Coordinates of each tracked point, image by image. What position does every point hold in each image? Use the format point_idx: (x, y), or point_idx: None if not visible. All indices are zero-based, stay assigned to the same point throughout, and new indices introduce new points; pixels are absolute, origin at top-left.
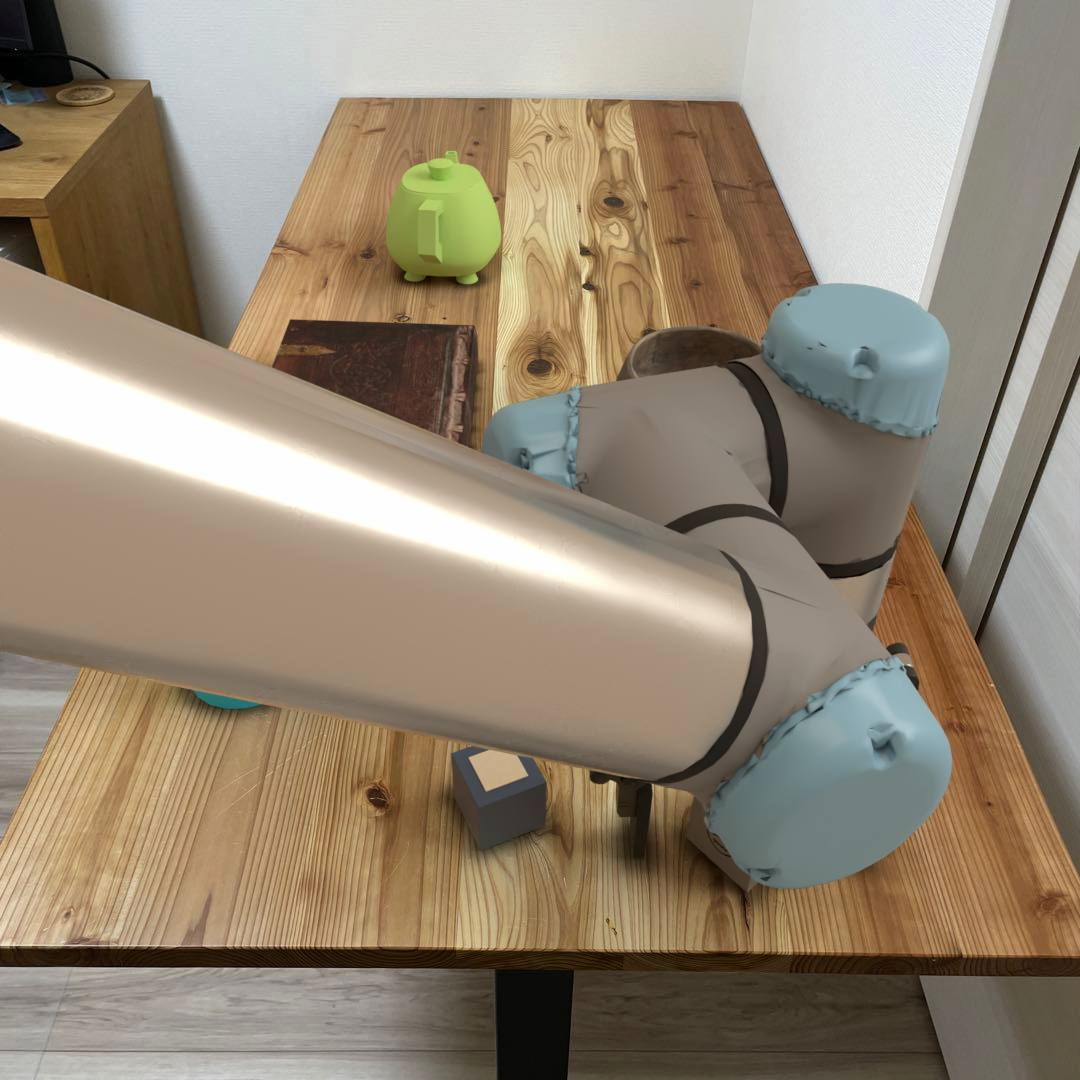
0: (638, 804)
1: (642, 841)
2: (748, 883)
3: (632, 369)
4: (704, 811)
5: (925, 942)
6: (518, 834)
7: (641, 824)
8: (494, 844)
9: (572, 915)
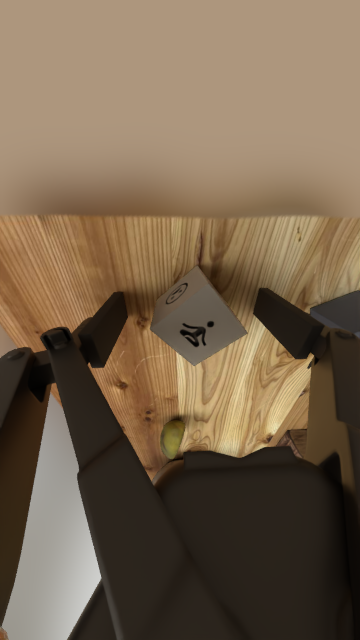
0: (311, 317)
1: (272, 295)
2: (198, 267)
3: None
4: (235, 316)
5: (67, 224)
6: (331, 301)
7: (288, 304)
8: (348, 294)
9: (322, 243)
